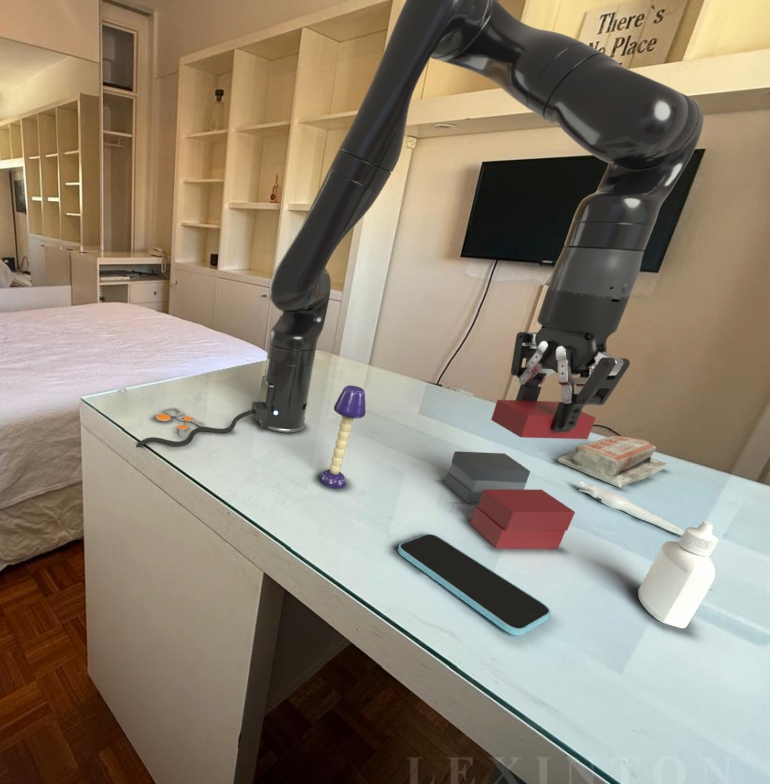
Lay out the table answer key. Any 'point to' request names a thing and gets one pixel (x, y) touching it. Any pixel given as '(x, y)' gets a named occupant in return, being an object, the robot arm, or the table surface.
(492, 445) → the table surface
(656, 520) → the white toothbrush
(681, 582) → the eye dropper bottle
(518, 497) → the burgundy book stack
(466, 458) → the grey book pile
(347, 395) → the toy lamp
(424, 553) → the smartphone
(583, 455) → the packaged product
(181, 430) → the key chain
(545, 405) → the burgundy paperback
